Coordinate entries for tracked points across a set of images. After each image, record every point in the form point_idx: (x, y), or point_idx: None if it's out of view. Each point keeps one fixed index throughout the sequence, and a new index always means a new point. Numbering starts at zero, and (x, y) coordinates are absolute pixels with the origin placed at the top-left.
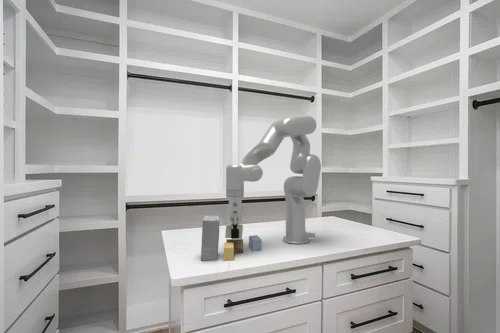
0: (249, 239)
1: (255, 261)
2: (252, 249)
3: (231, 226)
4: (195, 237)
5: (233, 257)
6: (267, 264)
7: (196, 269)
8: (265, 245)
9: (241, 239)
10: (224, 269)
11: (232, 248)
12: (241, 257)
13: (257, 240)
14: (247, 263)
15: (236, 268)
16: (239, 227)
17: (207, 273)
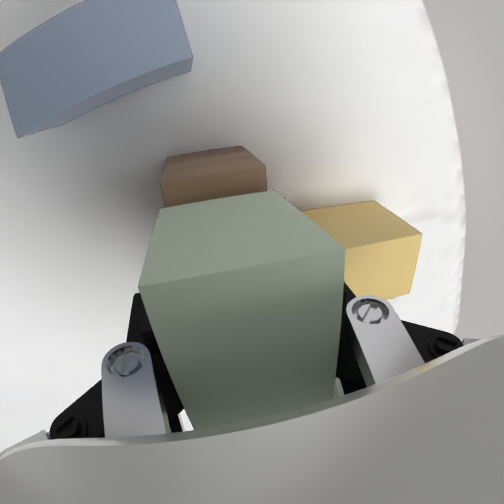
0: (49, 123)
1: (396, 72)
2: (174, 74)
3: (330, 398)
4: (31, 425)
5: (384, 208)
6: (429, 24)
7: (422, 321)
8: (32, 6)
9: (179, 196)
10: (452, 228)
11: (416, 238)
12: (330, 154)
13: (178, 10)
14: (418, 122)
15: (455, 180)
16: (333, 300)
17: (458, 277)
